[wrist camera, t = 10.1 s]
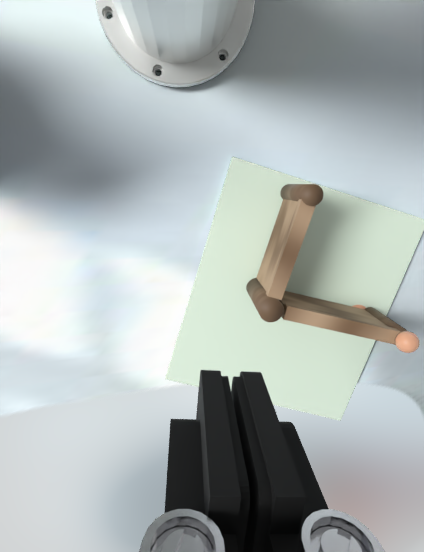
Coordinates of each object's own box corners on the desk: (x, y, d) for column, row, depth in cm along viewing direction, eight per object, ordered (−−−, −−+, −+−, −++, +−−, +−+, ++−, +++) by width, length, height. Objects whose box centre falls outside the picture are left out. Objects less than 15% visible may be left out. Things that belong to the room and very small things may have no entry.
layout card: (232, 156, 33) (232, 156, 32) (425, 220, 35) (428, 220, 35) (165, 377, 38) (165, 379, 37) (339, 418, 40) (340, 420, 40)
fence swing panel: (266, 299, 36) (286, 329, 28) (272, 282, 35) (293, 308, 28) (374, 324, 37) (419, 358, 30) (380, 308, 37) (427, 339, 29)
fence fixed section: (281, 181, 33) (304, 180, 27) (301, 187, 33) (329, 188, 27) (243, 294, 36) (255, 318, 29) (262, 299, 36) (278, 325, 29)
